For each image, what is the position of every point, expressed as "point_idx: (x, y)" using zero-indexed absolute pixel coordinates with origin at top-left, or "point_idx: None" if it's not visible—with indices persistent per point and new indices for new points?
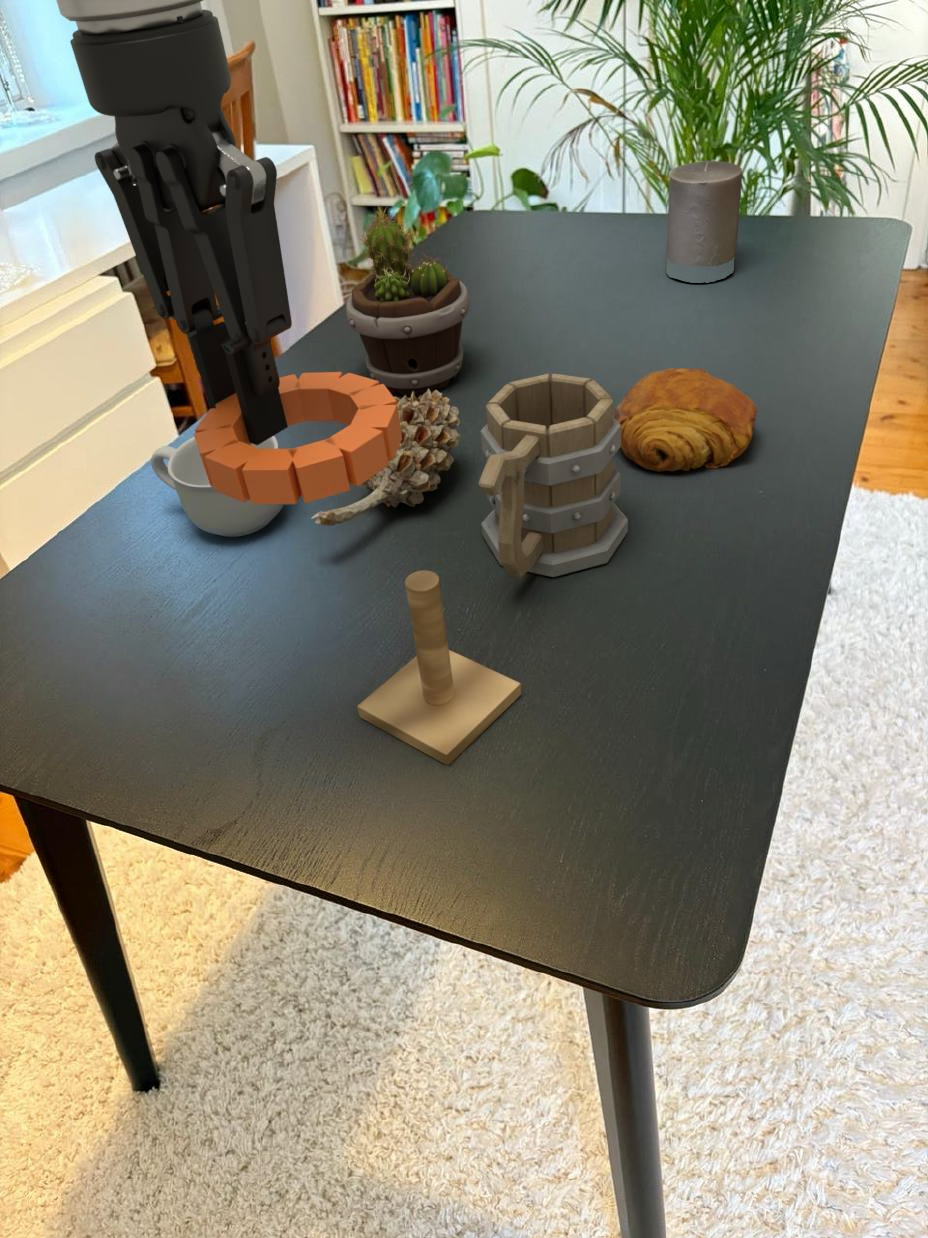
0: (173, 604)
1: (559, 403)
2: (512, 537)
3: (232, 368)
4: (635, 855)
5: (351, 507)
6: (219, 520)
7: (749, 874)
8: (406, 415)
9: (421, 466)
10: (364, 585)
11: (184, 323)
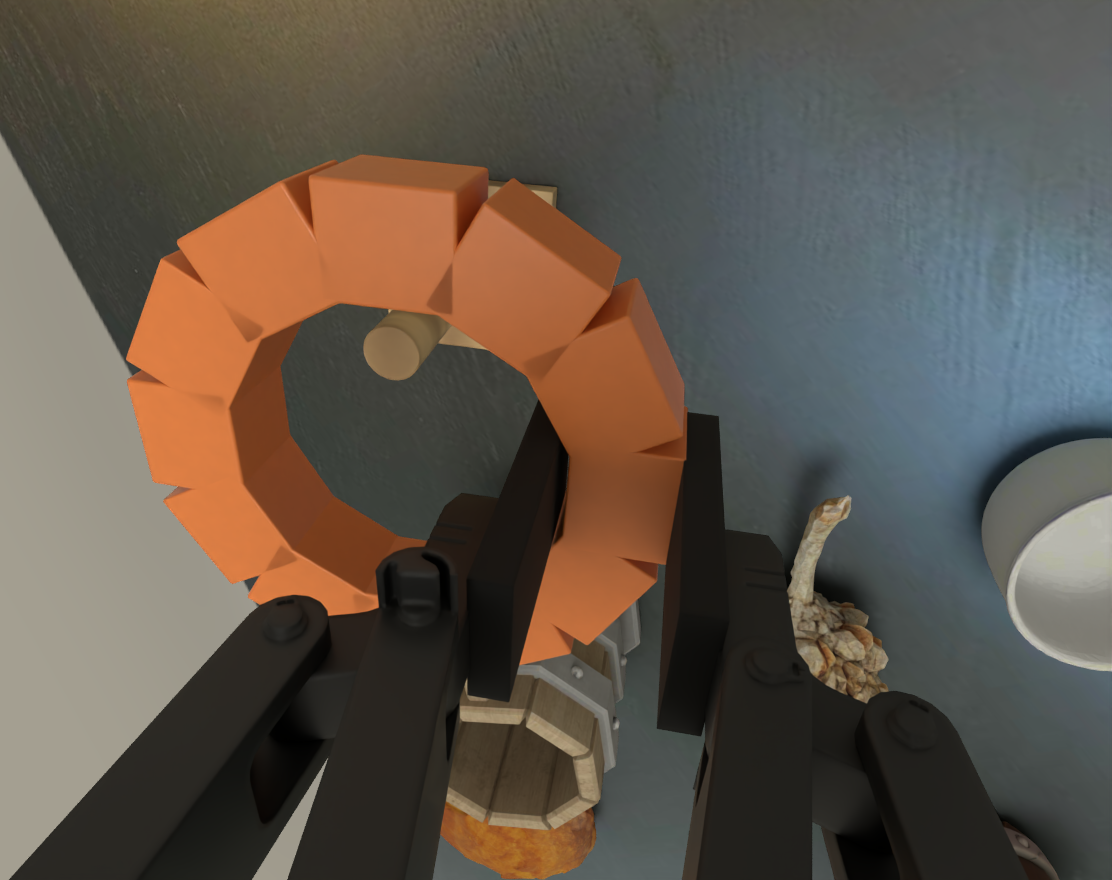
0: (1064, 260)
1: (537, 781)
2: None
3: (513, 532)
4: (129, 161)
5: (809, 546)
6: (1071, 456)
7: (38, 200)
8: None
9: None
10: (737, 430)
11: (749, 670)
